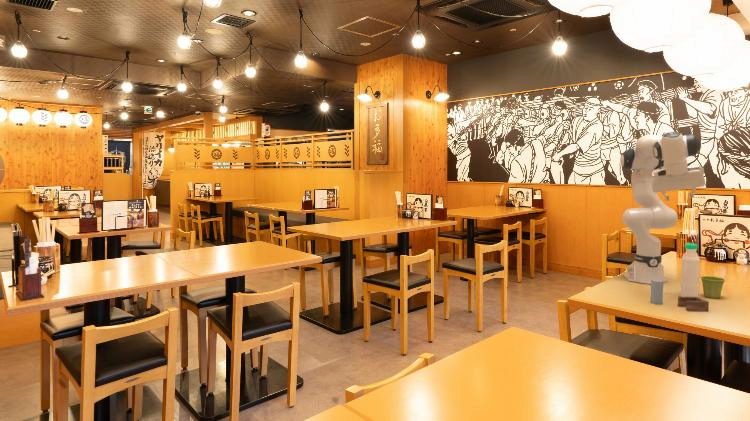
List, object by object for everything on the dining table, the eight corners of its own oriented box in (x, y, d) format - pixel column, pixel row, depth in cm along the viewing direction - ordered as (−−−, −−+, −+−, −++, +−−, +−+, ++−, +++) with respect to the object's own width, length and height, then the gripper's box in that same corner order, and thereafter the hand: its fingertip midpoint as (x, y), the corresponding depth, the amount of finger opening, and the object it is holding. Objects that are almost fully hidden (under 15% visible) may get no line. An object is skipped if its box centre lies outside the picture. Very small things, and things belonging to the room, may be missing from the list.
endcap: (677, 305, 207) (678, 296, 207) (697, 305, 206) (697, 296, 206) (688, 311, 199) (688, 301, 199) (708, 311, 198) (708, 301, 198)
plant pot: (720, 294, 224) (721, 276, 223) (727, 300, 215) (728, 281, 214) (697, 293, 227) (697, 275, 226) (703, 298, 218) (704, 279, 217)
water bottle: (701, 299, 216) (703, 245, 214) (684, 299, 217) (686, 244, 215) (694, 295, 223) (696, 242, 220) (677, 295, 224) (679, 242, 222)
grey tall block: (650, 301, 214) (651, 279, 213) (658, 301, 213) (659, 279, 212) (654, 303, 210) (654, 281, 209) (662, 304, 210) (663, 281, 209)
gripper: (701, 163, 211) (705, 194, 213) (649, 171, 219) (652, 200, 221) (705, 165, 205) (708, 197, 207) (651, 173, 213) (654, 203, 215)
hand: (679, 199), depth 214 cm, fingers open, 8 cm apart
